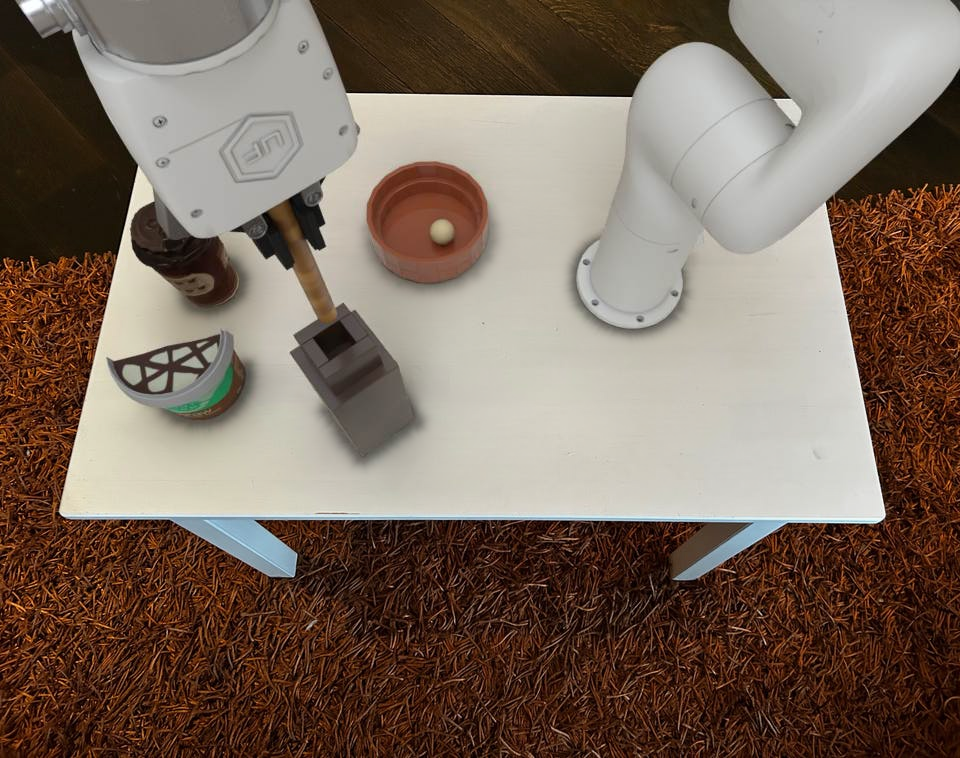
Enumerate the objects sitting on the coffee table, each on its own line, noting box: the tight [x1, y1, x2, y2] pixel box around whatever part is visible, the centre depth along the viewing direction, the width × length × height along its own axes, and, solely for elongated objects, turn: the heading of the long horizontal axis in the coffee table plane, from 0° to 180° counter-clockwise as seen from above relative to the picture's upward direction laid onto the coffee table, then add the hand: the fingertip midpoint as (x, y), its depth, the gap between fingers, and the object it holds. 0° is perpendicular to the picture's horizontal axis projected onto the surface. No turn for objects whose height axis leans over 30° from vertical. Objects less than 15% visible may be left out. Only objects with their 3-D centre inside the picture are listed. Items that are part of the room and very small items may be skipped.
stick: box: [265, 198, 337, 324], centre depth 44 cm, size 2×2×16 cm
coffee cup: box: [129, 201, 240, 308], centre depth 72 cm, size 9×8×13 cm
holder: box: [289, 302, 415, 458], centre depth 63 cm, size 7×7×20 cm
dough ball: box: [430, 219, 455, 245], centre depth 78 cm, size 3×3×3 cm
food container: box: [105, 327, 246, 421], centre depth 68 cm, size 12×6×10 cm, turn 106°
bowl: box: [365, 160, 489, 283], centre depth 78 cm, size 14×14×5 cm
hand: (294, 242), depth 41 cm, fingers closed on stick, 1 cm apart
